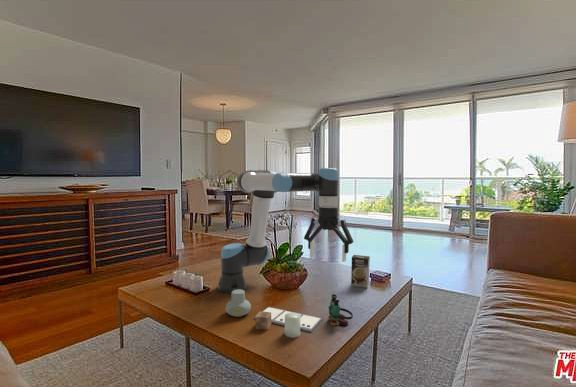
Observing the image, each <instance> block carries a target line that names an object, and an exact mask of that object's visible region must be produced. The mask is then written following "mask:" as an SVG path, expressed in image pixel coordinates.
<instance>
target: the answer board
mask: <svg viewBox="0 0 576 387" xmlns="http://www.w3.org/2000/svg"><path fill="white" fill-rule="evenodd" d="M261 312H271V324H274V325H278V326H282V327H285V314H287V313H298V314H300V331H303V332H308V333H312V332H313V331H314V330H315V329H316V328H317V326H319V324H321V322H322V321H323V317H318V316H313V315H309V314H305V313H301V312H294V311H289V310H286V309H281V308H277V307H272V306H268V307H267V308H265V309H263V310H262V311H261ZM253 319H254V320H256V315H255V316H254V318H253Z"/></svg>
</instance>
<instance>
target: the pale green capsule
mask: <svg viewBox="0 0 576 387" xmlns="http://www.w3.org/2000/svg"><path fill="white" fill-rule="evenodd" d="M298 313H299V312H296V313H287V314H285V326H284V335H285V336H286V337H288V338H293V339H294V338H298V337H299V336H301V330H300V314H301V313H300V314H298Z"/></svg>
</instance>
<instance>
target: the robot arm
mask: <svg viewBox="0 0 576 387" xmlns="http://www.w3.org/2000/svg"><path fill="white" fill-rule="evenodd" d="M236 185H237V187H238V189H239V190H240V191H242V192H243V193H246V194H251V195H252V196H253V199H254V201H253V208H252V215H251V221H250V227H249V228H250V229H249V237H248V238H247V239H246V240H245V244H244V245H243V243H239V242H238V243H237V242H236V243H234V242H233V243H228V244H227V245H224V246H223V247H221V251H220V267H221V269H220V270H221V274H220V278H219V281H218V285H217V290H218V291H219V292H221V293H225V294H231V292H232V291H233V290H238V289H240V290H244V291H245V290H247V288H248V287H247V286H248V284H247V281H246V278H245V274H244V268H247V267H252V266H260V265H262V264H266V262H267V261H268V260H269V259H270V246H269V244H268V243H267V240H266V232H267V228H268V227H267V226H268V219H269V212H270V207H271V201H272V200H273V199H274V197H275V194H276V193H291V192H293V193H295V192H318V206H319V207H318V217H312V218H311V220H310V223H309V226H308V228H307V230H306V232H305V234H304V236H303V239H304V240H306V241H307V242H308V244H307V245H308V247H307V248H308V250H309V253H310V254H309V255H310V257H309V258H311V259H312V258H314V257H315V246H316V244H315V242H316V241H315V240H314V239H315V238H316V237H317V236H318V235H319V233H320V232H321V231H322V230H324V231H326V230H327V231H333V232H334V233H335V234H336V235H337V236H338V238H339V239H340V241H341V242H342V243H343V244H342V245H341V247H342V252H341V256H342V257H341V259H342V260H341V262H343V263H344V262H346V261H347V254H348V253H349V250H350V249H349V246H350V245H352V244H353V243H354V239H353V237H352V235H351V232H350V230H349V229H348V226H347V224H346V219H344V218H343V219H339V218H338V214H339V213H338V211H339V210H338V207H337V206H338V205H339V204H338V203H339V201H338V199H339V198H338V197H339V196H338V195H339V194H338V193H339V192H338V189H339V186H338V185H339V171H338V168H336V167H327V168H326V167H320V168H319V170H318V172H317V173H315V172H312V173H311V172H299V173H298V172H297V173H295V172H287V173H286V172H279V173H277V172H276V171H274V170H268V169H266V170H264V169H261V170H251V169H249V170H245V171H242V172H240V174H239V175H238V176H237V179H236ZM317 223H318V225H319V226H317V228H316V229H315V230H314V228H315V226H316V224H317ZM338 225H339V226H341V229H342V231H343V232H342V231H341V230H340V228H339V226H338ZM313 230H314V232H313ZM312 232H313V233H312ZM343 233H344V234H343Z"/></svg>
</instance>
